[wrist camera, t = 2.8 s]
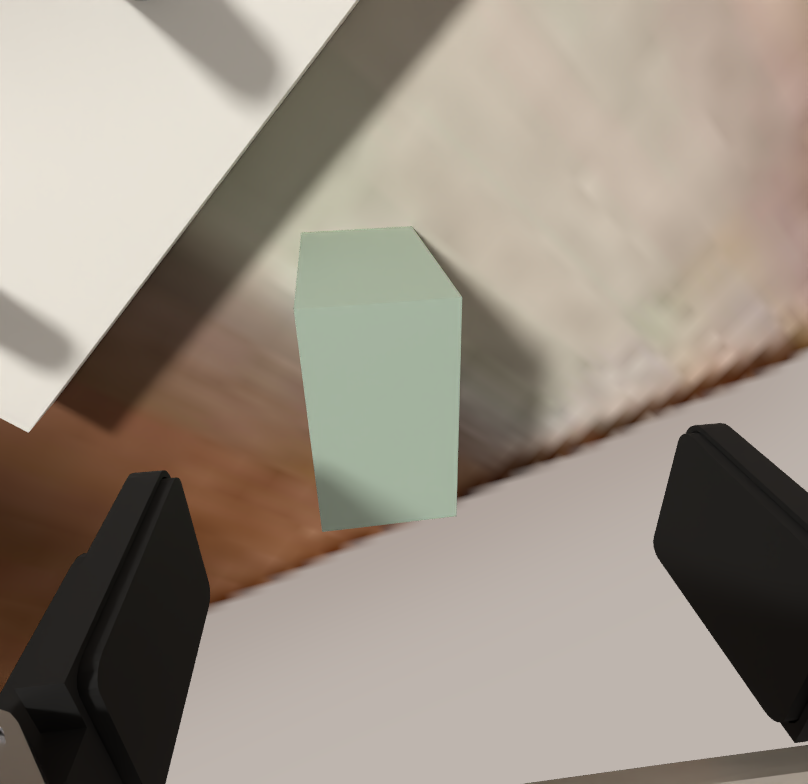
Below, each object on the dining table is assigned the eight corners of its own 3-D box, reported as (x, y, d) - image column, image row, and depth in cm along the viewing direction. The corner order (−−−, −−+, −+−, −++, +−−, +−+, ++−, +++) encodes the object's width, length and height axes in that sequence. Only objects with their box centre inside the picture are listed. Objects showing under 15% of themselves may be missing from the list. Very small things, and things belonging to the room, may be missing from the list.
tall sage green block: (418, 389, 21) (462, 515, 14) (320, 398, 20) (322, 531, 14) (416, 225, 18) (469, 296, 12) (301, 232, 17) (293, 309, 11)
